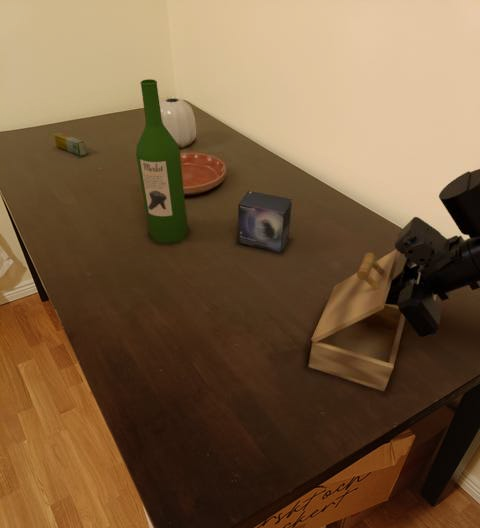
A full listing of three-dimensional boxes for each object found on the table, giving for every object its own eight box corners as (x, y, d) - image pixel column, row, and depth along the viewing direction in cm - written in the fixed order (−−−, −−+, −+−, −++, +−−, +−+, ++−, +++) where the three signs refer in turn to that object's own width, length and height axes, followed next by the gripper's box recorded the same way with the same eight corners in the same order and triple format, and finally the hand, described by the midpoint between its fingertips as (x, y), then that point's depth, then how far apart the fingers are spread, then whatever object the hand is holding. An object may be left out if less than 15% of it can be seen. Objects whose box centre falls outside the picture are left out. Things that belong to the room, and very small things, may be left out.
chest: (399, 331, 78) (407, 308, 74) (384, 391, 68) (393, 368, 64) (331, 312, 81) (335, 289, 77) (308, 367, 72) (312, 343, 68)
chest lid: (400, 251, 67) (381, 231, 66) (383, 308, 58) (361, 285, 57) (337, 289, 77) (320, 271, 76) (314, 343, 67) (294, 323, 66)
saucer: (139, 169, 126) (137, 157, 124) (214, 159, 131) (213, 147, 129) (152, 206, 111) (150, 193, 108) (236, 193, 116) (236, 180, 113)
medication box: (87, 154, 134) (85, 141, 132) (80, 156, 133) (78, 143, 130) (62, 144, 139) (60, 131, 137) (55, 146, 137) (53, 133, 135)
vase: (162, 155, 134) (156, 109, 124) (151, 139, 143) (144, 95, 134) (203, 148, 138) (201, 103, 128) (190, 133, 147) (186, 90, 138)
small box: (236, 244, 98) (236, 202, 91) (247, 230, 102) (247, 189, 95) (280, 254, 95) (284, 212, 88) (289, 239, 99) (293, 198, 92)
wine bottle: (146, 243, 98) (118, 88, 76) (153, 222, 105) (130, 74, 82) (185, 244, 98) (168, 89, 75) (190, 223, 104) (176, 74, 82)
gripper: (452, 178, 59) (358, 229, 70) (439, 248, 47) (327, 297, 58) (491, 239, 62) (394, 279, 73) (488, 320, 50) (373, 354, 61)
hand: (374, 299), depth 66 cm, fingers closed
